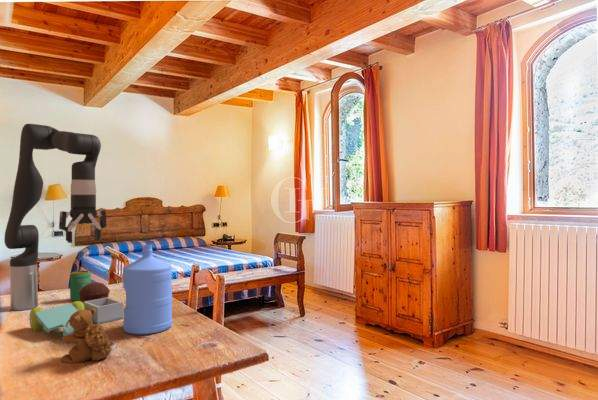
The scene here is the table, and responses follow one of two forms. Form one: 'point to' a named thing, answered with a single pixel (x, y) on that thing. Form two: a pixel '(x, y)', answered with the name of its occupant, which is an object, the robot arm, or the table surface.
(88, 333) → the stuffed squirrel
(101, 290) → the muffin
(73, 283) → the beverage can
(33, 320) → the dumbbell
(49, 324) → the teal flat paddle shape
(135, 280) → the water jug
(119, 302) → the tub
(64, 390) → the table surface
